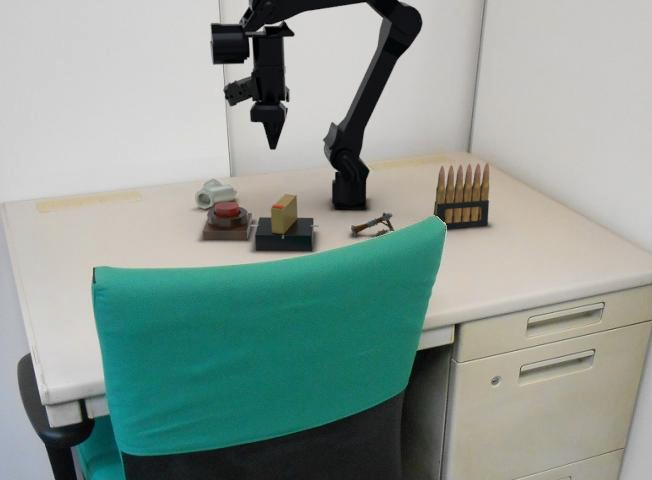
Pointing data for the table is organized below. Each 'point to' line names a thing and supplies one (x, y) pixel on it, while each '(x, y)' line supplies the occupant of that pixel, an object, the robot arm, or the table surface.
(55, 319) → the table surface
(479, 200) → the ammunition clip
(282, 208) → the olive rectangular block
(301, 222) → the dark rectangular block base
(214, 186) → the pipe fitting
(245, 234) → the button housing
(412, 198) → the table surface
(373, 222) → the wooden post with brackets
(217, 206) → the button
